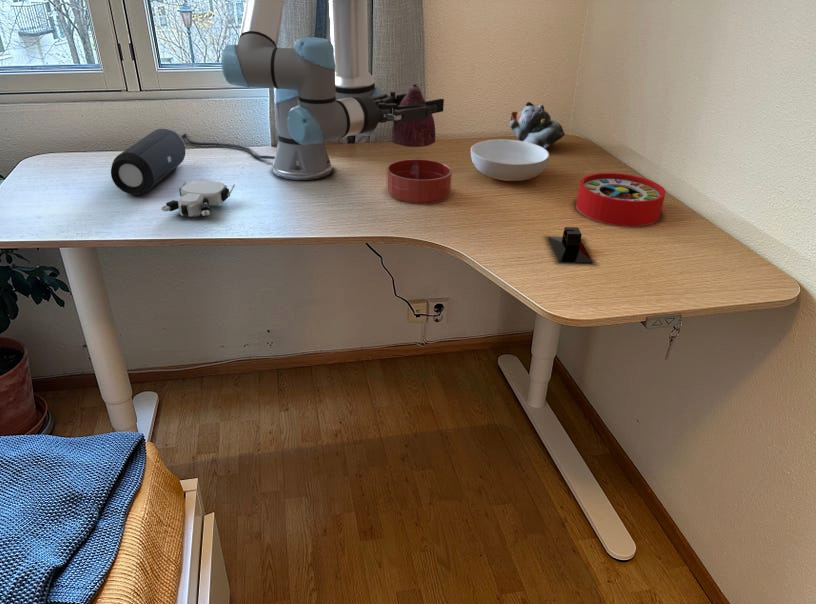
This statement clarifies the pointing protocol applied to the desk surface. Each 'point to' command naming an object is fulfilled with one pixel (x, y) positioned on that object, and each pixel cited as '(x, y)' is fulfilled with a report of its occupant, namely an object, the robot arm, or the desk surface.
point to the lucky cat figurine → (535, 126)
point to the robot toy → (199, 197)
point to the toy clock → (620, 199)
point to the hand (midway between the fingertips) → (429, 101)
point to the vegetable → (414, 124)
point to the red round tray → (418, 181)
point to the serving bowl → (509, 159)
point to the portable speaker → (148, 161)
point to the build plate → (570, 247)
